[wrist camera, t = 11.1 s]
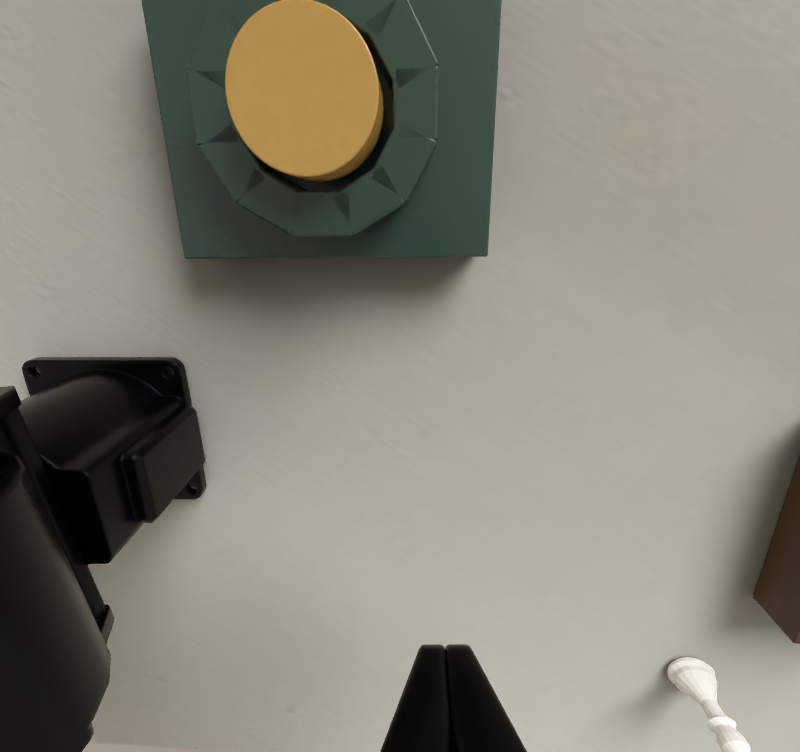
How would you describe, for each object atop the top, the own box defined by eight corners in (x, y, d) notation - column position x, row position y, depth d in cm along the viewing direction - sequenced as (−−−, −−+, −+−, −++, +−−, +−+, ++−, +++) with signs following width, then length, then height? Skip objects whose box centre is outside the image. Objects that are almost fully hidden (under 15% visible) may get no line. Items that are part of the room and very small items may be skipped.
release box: (212, 253, 17) (154, 264, 13) (173, -8, 14) (87, -87, 10) (478, 251, 17) (497, 261, 13) (491, -16, 14) (519, -102, 10)
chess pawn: (721, 666, 23) (781, 753, 20) (697, 690, 24) (749, 779, 20) (680, 649, 23) (732, 735, 19) (656, 674, 24) (702, 761, 20)
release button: (258, 182, 13) (235, 178, 11) (242, 30, 11) (212, -1, 10) (385, 180, 13) (380, 176, 11) (381, 26, 11) (376, -5, 10)
